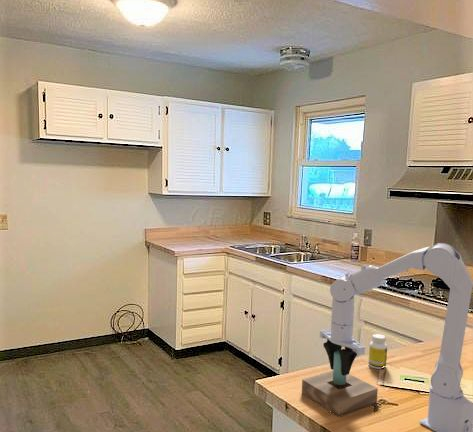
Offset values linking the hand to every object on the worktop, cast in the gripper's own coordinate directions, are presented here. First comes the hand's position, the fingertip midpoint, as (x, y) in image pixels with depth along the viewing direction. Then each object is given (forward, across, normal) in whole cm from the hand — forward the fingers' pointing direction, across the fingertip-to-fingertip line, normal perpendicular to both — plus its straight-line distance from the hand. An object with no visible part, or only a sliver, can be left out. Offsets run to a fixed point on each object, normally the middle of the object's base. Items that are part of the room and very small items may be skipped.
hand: (339, 371), depth 122 cm
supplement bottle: (+8, +9, -26) cm, 29 cm away
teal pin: (+3, 0, 0) cm, 3 cm away
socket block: (+8, 0, 0) cm, 8 cm away
